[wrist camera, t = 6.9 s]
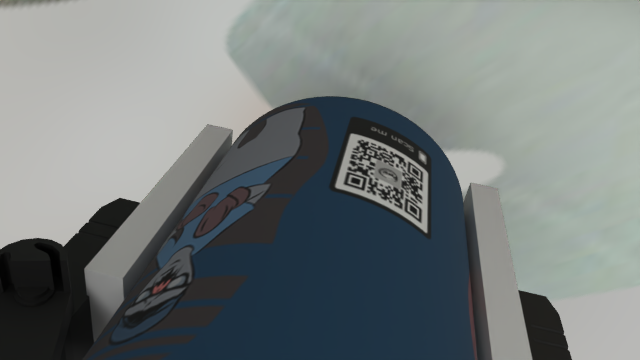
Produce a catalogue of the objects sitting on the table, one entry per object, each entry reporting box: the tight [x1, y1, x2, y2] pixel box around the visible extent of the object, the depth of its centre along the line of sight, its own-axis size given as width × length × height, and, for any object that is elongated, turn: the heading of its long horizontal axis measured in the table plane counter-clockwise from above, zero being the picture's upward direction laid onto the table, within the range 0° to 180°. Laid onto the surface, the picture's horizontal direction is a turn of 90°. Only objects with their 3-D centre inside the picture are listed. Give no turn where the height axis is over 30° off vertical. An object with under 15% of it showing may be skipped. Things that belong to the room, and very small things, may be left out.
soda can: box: [82, 96, 477, 360], centre depth 11 cm, size 7×7×12 cm
